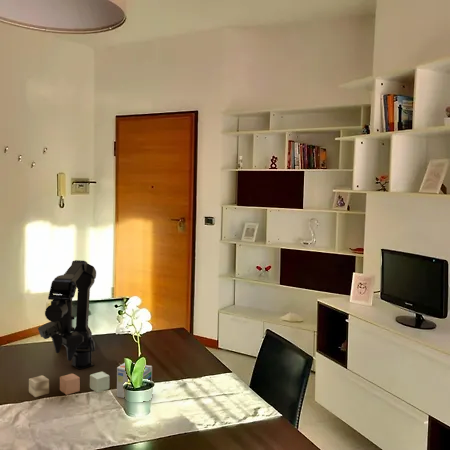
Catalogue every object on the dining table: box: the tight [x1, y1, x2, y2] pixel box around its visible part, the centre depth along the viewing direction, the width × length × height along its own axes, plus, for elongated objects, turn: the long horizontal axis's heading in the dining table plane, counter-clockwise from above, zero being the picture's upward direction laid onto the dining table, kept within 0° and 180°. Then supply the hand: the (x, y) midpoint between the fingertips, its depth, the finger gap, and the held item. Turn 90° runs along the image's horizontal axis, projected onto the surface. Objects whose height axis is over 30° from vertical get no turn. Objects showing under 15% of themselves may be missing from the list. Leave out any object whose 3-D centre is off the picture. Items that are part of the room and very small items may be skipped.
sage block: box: [89, 371, 111, 393], centre depth 189 cm, size 5×5×5 cm
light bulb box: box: [116, 362, 153, 399], centre depth 184 cm, size 11×7×11 cm, turn 71°
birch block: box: [28, 375, 50, 398], centre depth 184 cm, size 5×5×5 cm
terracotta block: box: [59, 373, 81, 396], centre depth 187 cm, size 5×5×5 cm
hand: (63, 356), depth 186 cm, fingers open, 9 cm apart
